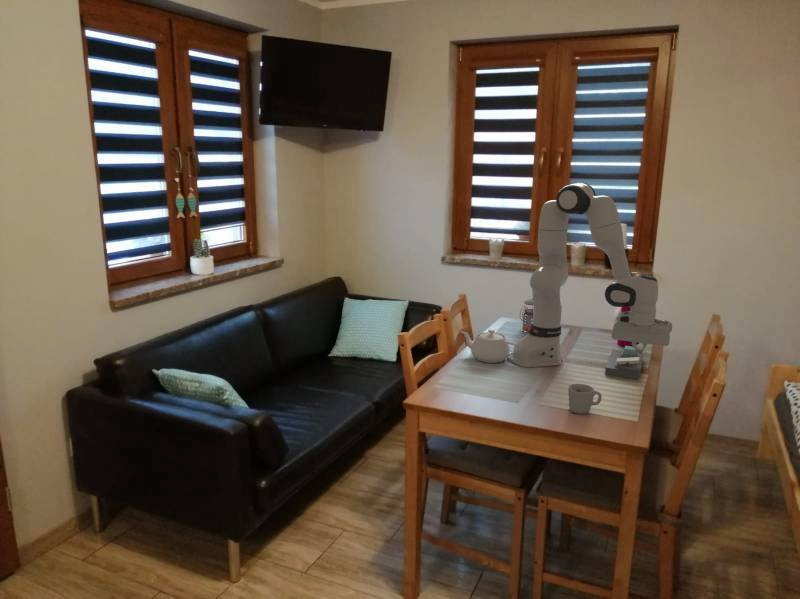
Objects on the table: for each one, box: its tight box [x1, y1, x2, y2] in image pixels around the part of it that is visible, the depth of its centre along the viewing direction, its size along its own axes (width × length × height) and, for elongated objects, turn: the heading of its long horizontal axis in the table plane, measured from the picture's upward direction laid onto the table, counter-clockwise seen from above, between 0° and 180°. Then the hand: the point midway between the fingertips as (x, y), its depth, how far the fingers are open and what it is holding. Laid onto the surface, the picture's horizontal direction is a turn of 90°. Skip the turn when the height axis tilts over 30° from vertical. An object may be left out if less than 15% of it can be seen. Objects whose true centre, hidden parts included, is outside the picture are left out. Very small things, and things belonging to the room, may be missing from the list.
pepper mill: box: [616, 307, 633, 347], centre depth 261 cm, size 7×7×20 cm
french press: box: [519, 298, 534, 332], centre depth 279 cm, size 10×12×25 cm
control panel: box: [604, 349, 645, 381], centre depth 234 cm, size 24×12×6 cm, turn 155°
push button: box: [623, 346, 636, 356], centre depth 233 cm, size 4×4×3 cm
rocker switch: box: [616, 357, 640, 366], centre depth 226 cm, size 4×8×2 cm, turn 65°
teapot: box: [460, 329, 519, 364], centre depth 242 cm, size 25×16×12 cm, turn 60°
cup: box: [568, 383, 602, 415], centre depth 193 cm, size 11×8×8 cm
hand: (638, 353), depth 224 cm, fingers closed
